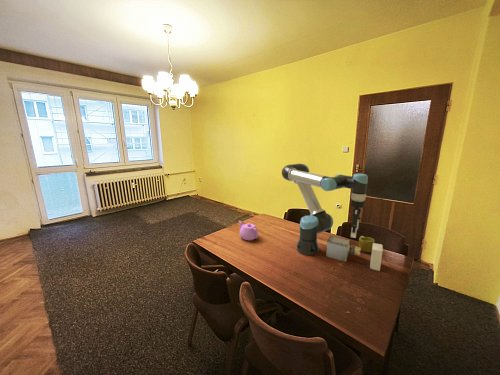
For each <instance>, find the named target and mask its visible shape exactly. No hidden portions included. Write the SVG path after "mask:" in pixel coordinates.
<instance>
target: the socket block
mask: <svg viewBox="0 0 500 375" xmlns="http://www.w3.org/2000/svg"><path fill="white" fill-rule="evenodd" d="M383 247H384V246H383V244H381V243H373V246H372V252H371V254H370V255H371V256H370V263H369V269H370V270H373V271H379V272H380V271H381V267H382V266H381V265H382V259H383V252H384V251H383V250H384V248H383Z"/></svg>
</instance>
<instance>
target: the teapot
mask: <svg viewBox="0 0 500 375" xmlns="http://www.w3.org/2000/svg"><path fill="white" fill-rule="evenodd" d="M238 223H239V236H240V238H241V239H242V240H244V241H253V240H255V239H258V236H259V232H258V231H259V230H258V228H257V226H256V225H255V224H253V223H250V222H248V223H244V224H243V223H242V221H241V220H238Z"/></svg>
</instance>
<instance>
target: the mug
mask: <svg viewBox="0 0 500 375" xmlns="http://www.w3.org/2000/svg"><path fill="white" fill-rule="evenodd" d="M375 241H376V240H375V239H374V238H372V237H368V236H364V235H360V236H359V239H358V247H361V250H362V251H361V252H365V253H372V246H373V243H375Z"/></svg>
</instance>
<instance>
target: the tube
mask: <svg viewBox="0 0 500 375" xmlns="http://www.w3.org/2000/svg"><path fill="white" fill-rule="evenodd" d="M361 252H362V251H361V247H359V246H356V245H354V244H349V245H348V250H347V253H348V254H351V255H356V256H361Z"/></svg>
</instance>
